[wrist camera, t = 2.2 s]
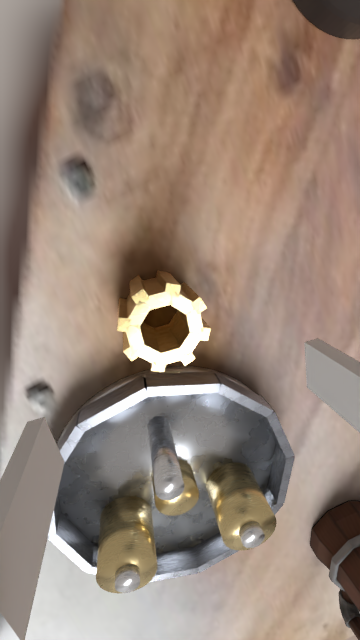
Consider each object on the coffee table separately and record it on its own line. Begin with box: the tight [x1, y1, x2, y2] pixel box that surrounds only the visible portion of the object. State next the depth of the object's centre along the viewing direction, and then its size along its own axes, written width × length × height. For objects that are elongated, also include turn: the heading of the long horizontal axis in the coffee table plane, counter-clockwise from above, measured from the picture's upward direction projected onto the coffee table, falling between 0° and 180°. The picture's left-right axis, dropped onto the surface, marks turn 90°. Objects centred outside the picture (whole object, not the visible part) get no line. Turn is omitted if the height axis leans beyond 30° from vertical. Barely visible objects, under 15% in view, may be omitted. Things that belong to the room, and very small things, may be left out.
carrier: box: [47, 366, 294, 593], centre depth 31 cm, size 27×27×10 cm
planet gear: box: [117, 271, 211, 372], centre depth 26 cm, size 7×7×6 cm
